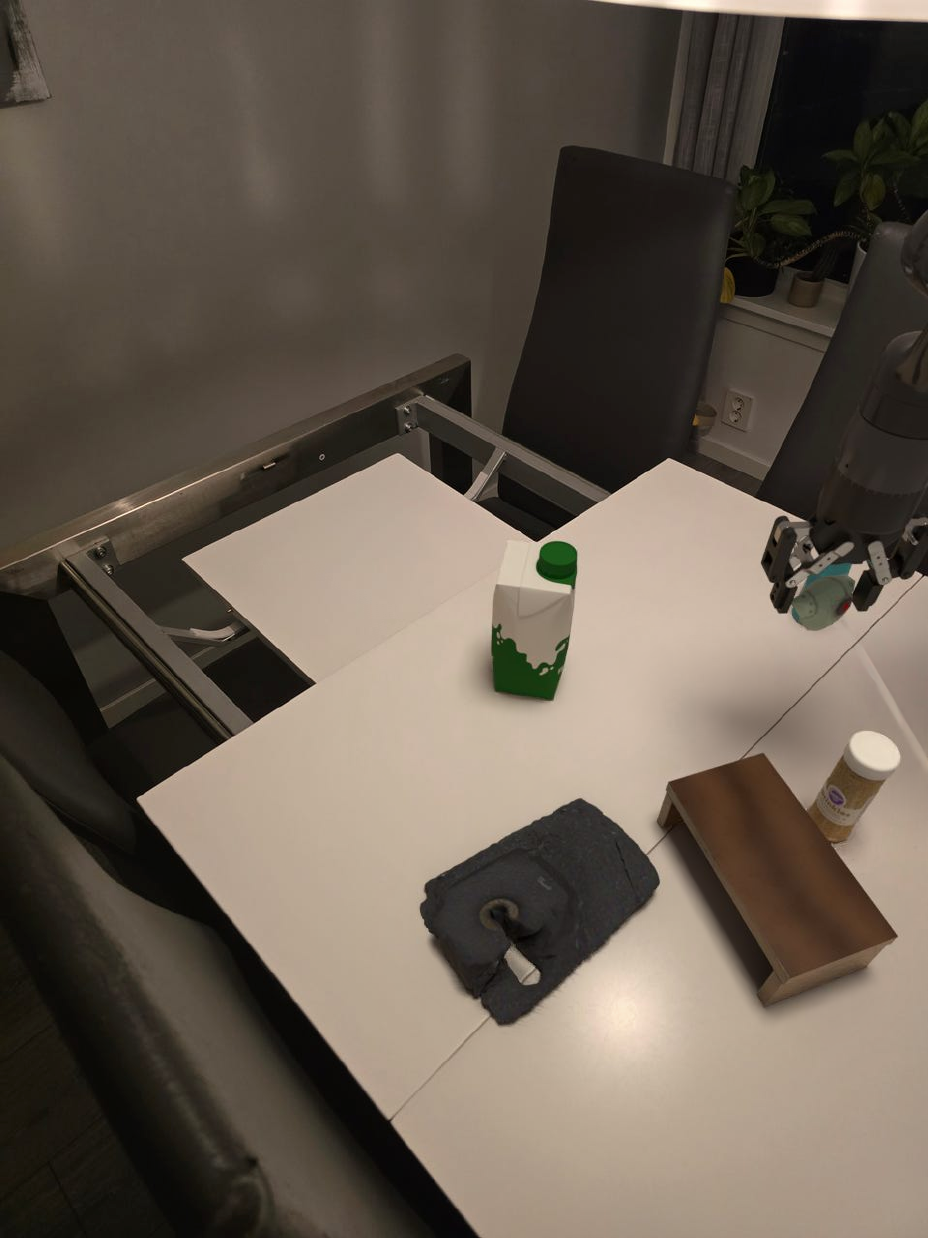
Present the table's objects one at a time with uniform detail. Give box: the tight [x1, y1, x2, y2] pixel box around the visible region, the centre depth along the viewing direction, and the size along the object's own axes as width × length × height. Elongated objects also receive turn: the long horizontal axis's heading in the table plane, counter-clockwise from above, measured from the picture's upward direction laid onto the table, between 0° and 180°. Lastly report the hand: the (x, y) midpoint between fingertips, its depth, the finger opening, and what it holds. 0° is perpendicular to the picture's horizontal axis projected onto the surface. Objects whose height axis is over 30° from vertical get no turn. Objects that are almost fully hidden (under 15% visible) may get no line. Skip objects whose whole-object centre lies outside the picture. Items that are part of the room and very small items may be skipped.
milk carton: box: [490, 539, 578, 701], centre depth 90 cm, size 9×9×20 cm
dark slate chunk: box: [419, 797, 661, 1023], centre depth 74 cm, size 15×22×5 cm
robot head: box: [791, 574, 856, 632], centre depth 76 cm, size 8×4×7 cm, turn 121°
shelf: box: [656, 752, 899, 1007], centre depth 75 cm, size 11×20×7 cm, turn 19°
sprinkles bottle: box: [806, 730, 901, 843], centre depth 77 cm, size 5×5×14 cm
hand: (818, 606), depth 76 cm, fingers closed on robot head, 7 cm apart
